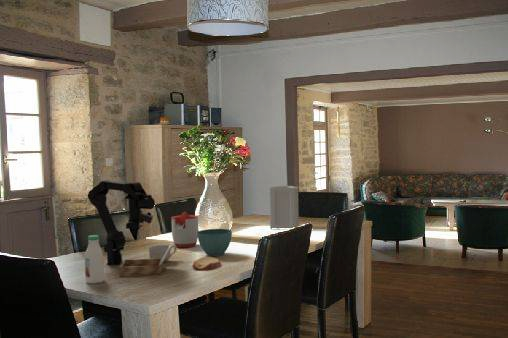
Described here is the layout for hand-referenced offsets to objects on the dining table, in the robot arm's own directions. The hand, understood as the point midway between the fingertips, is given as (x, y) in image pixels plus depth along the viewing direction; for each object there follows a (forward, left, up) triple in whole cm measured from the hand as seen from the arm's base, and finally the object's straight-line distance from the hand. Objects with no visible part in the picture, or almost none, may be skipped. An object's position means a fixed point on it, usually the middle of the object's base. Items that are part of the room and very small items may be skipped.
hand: (135, 240), depth 261 cm
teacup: (+12, +8, -13) cm, 19 cm away
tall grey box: (+87, +99, -13) cm, 132 cm away
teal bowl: (+38, +20, -13) cm, 45 cm away
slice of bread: (+33, -4, -13) cm, 36 cm away
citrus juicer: (+21, +46, -13) cm, 52 cm away
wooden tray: (+4, -11, -12) cm, 17 cm away
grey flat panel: (+15, -11, -4) cm, 19 cm away
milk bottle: (-14, -27, -13) cm, 33 cm away
